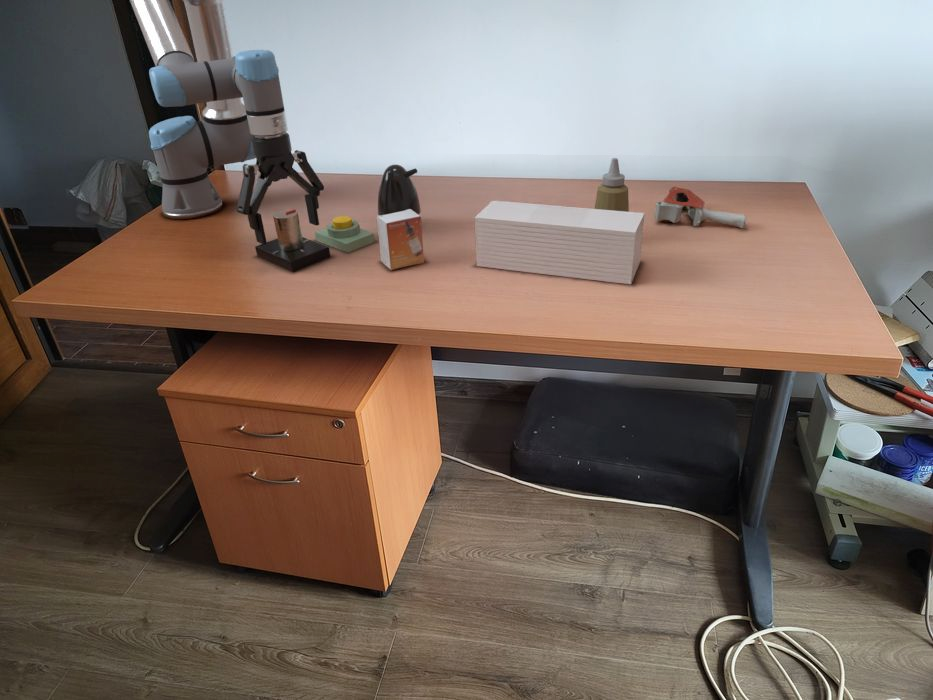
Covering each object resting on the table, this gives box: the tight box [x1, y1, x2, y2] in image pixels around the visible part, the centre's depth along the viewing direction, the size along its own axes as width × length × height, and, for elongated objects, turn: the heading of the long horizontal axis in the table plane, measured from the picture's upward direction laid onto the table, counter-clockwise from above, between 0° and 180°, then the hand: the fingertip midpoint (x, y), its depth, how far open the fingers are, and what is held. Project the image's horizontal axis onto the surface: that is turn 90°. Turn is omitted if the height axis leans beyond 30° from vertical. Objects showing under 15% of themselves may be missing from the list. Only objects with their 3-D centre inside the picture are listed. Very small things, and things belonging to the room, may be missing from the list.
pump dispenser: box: [377, 164, 422, 216], centre depth 158 cm, size 10×10×15 cm
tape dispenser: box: [654, 186, 747, 229], centre depth 156 cm, size 18×5×20 cm
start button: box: [332, 215, 353, 229], centre depth 154 cm, size 4×4×2 cm
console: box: [254, 236, 331, 273], centre depth 149 cm, size 14×10×3 cm
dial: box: [272, 208, 303, 251], centre depth 146 cm, size 5×5×8 cm
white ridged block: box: [474, 200, 645, 285], centre depth 137 cm, size 32×11×11 cm, turn 69°
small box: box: [376, 209, 425, 271], centre depth 141 cm, size 8×6×10 cm
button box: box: [314, 219, 376, 254], centre depth 155 cm, size 12×8×4 cm, turn 47°
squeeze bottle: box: [594, 157, 630, 212], centre depth 145 cm, size 8×8×18 cm
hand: (288, 233), depth 147 cm, fingers open, 13 cm apart
